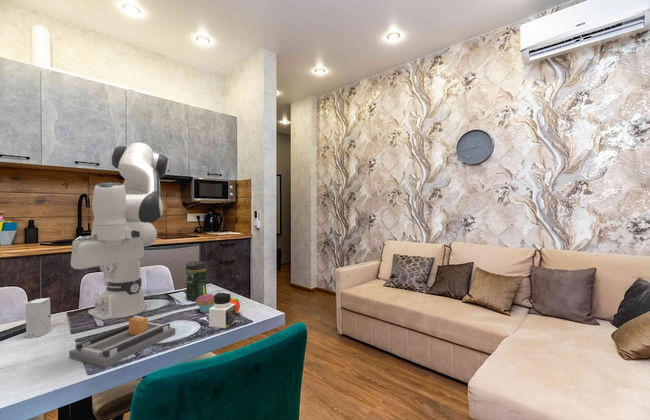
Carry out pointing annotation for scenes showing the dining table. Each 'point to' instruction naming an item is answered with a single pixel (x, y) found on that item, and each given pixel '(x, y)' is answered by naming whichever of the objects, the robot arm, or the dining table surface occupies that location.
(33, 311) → the skincare box
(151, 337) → the panel
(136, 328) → the block
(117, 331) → the pair of dark pieces
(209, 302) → the cupcake
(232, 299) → the clementine
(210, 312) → the medicine bottle
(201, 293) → the coffee jar
